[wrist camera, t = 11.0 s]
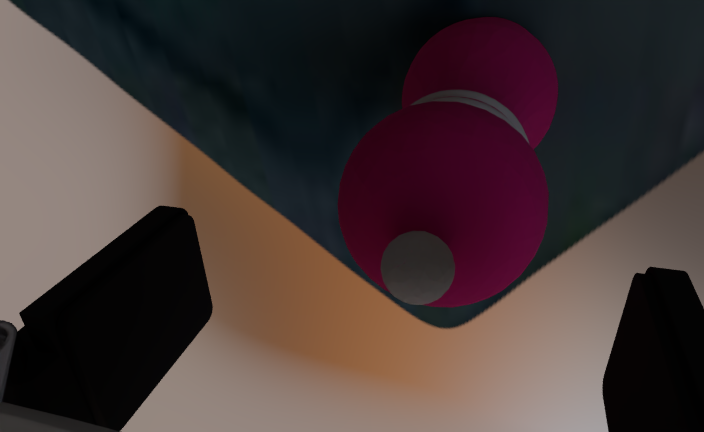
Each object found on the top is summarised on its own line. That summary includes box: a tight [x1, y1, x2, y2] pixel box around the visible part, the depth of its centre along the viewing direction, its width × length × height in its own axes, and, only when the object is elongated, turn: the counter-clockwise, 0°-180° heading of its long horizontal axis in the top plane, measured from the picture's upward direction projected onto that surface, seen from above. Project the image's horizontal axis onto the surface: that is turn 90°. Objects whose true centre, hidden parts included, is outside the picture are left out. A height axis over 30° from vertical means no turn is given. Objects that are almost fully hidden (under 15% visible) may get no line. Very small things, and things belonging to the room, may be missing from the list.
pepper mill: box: [338, 17, 558, 307], centre depth 20 cm, size 7×7×20 cm
